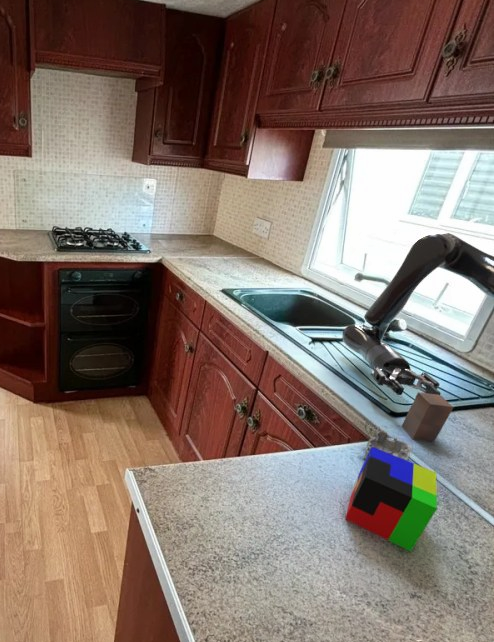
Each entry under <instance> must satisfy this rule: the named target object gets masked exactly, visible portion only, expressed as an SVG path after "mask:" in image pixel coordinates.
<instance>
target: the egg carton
mask: <svg viewBox="0 0 494 642" xmlns="http://www.w3.org/2000/svg"><path fill="white" fill-rule="evenodd" d="M371 447H374V448H377V449H379V450H382V451H384V452H387V453H389V454H392V455H394V456H397V457H399V458H402V459H404V460H406V461H409V458H410V456H411V454H412V451H413V446H412V445H410V444H407V443H406V442H405V441H400V440H398V438H397V437H394V438H393V439H392V438H390V437H388V432H387V431H385V430H382V429H381V426H378V427H376V429H375V430H374V432H373V433H372V435H371V437H370V438H369V439H368V441H367V444H366V447H365V448H366V449H365V451H364V452H365V454H364V455H363V457H362V458H363V459H364V461H365V460H366V457H367V455H368V453H369V451H370V449H371Z"/></svg>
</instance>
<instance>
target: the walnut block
mask: <svg viewBox="0 0 494 642" xmlns="http://www.w3.org/2000/svg"><path fill="white" fill-rule="evenodd" d="M453 410H454V406H453V405H452V404H451V403H450V402H449V401H448V400H446V399H445V398H444V397H443V396H442V394H441V395H436V394H429V393H426V392H420V391H418V392H417V394H416V396H415V398H414V400H413V402H412V404H411V406H410V408H409V410H408V412H407V414H406V416H405V418H404V420H403V421H402V424H401V428H402V429H403V430H404V431H405V432H406V433H407V435H409V437H410V438H411V439H412V440H414V441H415V440H416V441H425V442H431V443H435V442H436V440H437V438H438V436H439V434H440V433H441V431H442V429H443V428H444V425H445V424H446V422H447V421H448V418H449V416H450V414H452V411H453Z"/></svg>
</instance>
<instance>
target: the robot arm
mask: <svg viewBox="0 0 494 642" xmlns="http://www.w3.org/2000/svg"><path fill="white" fill-rule="evenodd" d="M438 268H440V269H442V270H446V271H448V272H451V273H453V274H455V275H458V276H460V277H462V278H464V279H465V280H467V281H469V282H470V283H471V284H473V285H474V286H475V287H476V288H478V289H479V290H480V291H481V292H482V293H483V294H484V295H486V296H487V297H489V299H491V300H493V301H494V255H491V254H489V253H487V252H484V251H482V250H481V249H479V248H477V247H476V246H474V245H472V244H470V243H468V242H466V241H465V240H463V239H461V238H460V237H458V236H456V235H455V234H452V233H450V232H445V231H439V232H438V231H437V232H432V233H427V234H425V235H422V236H420V237H419V238H417V239H416V240H415V241H414V243H413V244H412V245H411V248H410V249H409V251H408V253H407V255H406V256H405V258H404V259H403V262H402V263H401V265H400V267H399V269H398V270H397V272H396V273H395V275H394V276H393V278H392V279H391V280H390V282H389V283H388V284H387V286H386V287H385V288H384V289H383V291H381V293H380V295H379V296H378V297H377V298H376V299H375V300H374V302H373V303H372V304H371V306H370V307H369V308H368V309H367V311H366V312H365V313H364V317H363V319H364V320H365V322H366V323H367V324H369V325H370V326H371V327H370V328H369V327H367V326H363V325H360V324H350V325H347V326H346V327H345V328H344V329H343V331H342V333H341V339H342V342H343V343H344V344H345V346H346V347H347V348H349V349H350V350H352V351H353V352H355V353H356V354H358V355H359V356H361V357H362V358H363V359H364V360H365V362H367V363H368V365H369V366H370V368H371V372H370V374H369V375H370V376H371V377H372V379H373V380H374V382H376V384H377V385H379V386H381V387H383V386H385V387H387V388H389V389H390V390H391V391H392V392H393V393H395V394H396V395H397V396H402V395H403V394H404V391H405V387H404V386H408V387H410V388H412V389H414V390H421V391H423V392H424V393H429V394H436V395H441V396H442V392H440V391H439V389H438V388H439V387H440V384H441V383H440V382H438V381H437V380H436V379H435V378H433V377H432V376H431V375H429V374H428V373H427V372H425V371H423V372H421V374H418V373H417V372H416V371H415V372H414V371H413V370H412V369H411V365H410V363H409V362H408V360H406V359H405V358H404V357H403V356H402V355H401V354H400V353H399V352H397V350H395V348H392V347H390V346H389V345H388V344H387V343H386V342H385V341H384V340H383V338H384V336H385V333H386V331H387V329H388V327H389V326H390V324H391V323H392V322H393V321H394V320H395V318H396V317H397V316H398V315H399V314H400V313H401V312H402V310H403V309H404V308H405V306H406V305H407V303H408V301H409V300H410V298H411V296H412V294H413V293H414V292H415V290H416V288H417V287H418V286H419V285H420V284H421V283H422V282H423V281H424V279H426V278H427V277H429V275H430V274H431V273H432V272H434V271H435V270H436V269H438ZM416 380H417V382H416ZM415 382H416V384H415ZM403 385H404V386H403ZM422 385H423V386H422Z"/></svg>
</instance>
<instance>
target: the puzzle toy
mask: <svg viewBox="0 0 494 642" xmlns="http://www.w3.org/2000/svg"><path fill="white" fill-rule="evenodd" d="M437 488H438V487H437V472H436V471H434V470H431V469H428V468H426V467H424V466H421V465H419V464H416V463H413V462H412V461H409V460H407V461H406V460H404V459H402V458H399V457H397V456H394V455H392V454H389V453H387V452H384V451H382V450H379V449H377V448H374V447H371V449H370V451H369V453H368V455H367V457H366V460H365V459H364V462H363V464H362V466H361V468H360V470H359V473H358V474H357V477H356V479H355V481H354V483H353V485H352V489H351V493H350V497H349V500H348V501H349V502H348V506H347V510H346V514H345V519H344V520H346V521H348V522H350V523H352V524H354V525H355V526H359V527H361V528H362V529H364V530H367V531H368V532H370V533H372V534H374V535H377V536H378V537H381V538H382V539H384V540H386V541H388V542H390V543H393V544H395V545H397V546H399V547H401V548H403V549H405V550H406V551H408V552H412V550H413V548H414V547H415V546H416V544H417V542H418V540H419V539H420V537H421V536H422V534H423V532H424V531H425V529H426V527H427V526H428V524H429V523H430V521H431V519H432V518H433V516H434V514H435V513H436V511H437V510H438V496H437V495H438V493H437V492H438V490H437Z"/></svg>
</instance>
